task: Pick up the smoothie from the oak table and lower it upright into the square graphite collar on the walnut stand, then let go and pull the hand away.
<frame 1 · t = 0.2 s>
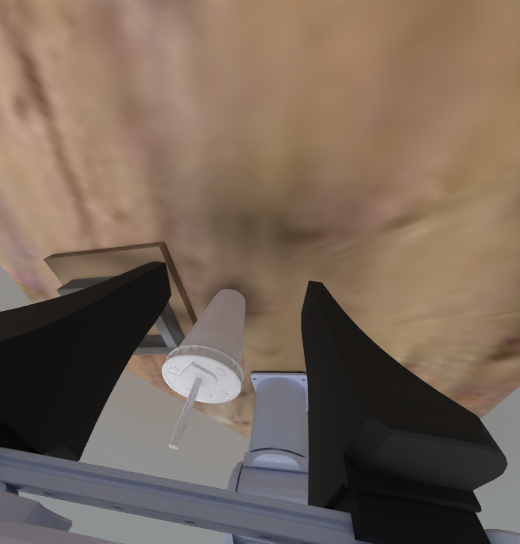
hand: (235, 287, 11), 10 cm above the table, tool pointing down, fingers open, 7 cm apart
smoothie: (230, 300, 25), on the table
bottle stand: (138, 306, 27), on the table
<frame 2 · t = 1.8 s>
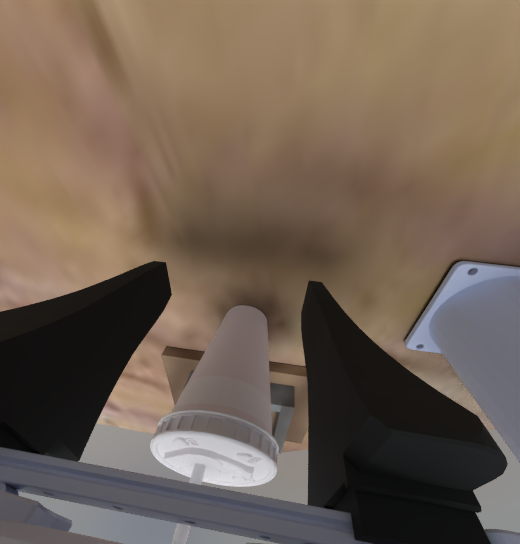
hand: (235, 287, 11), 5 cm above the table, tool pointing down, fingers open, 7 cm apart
smoothie: (246, 319, 19), on the table
bottle stand: (242, 396, 25), on the table
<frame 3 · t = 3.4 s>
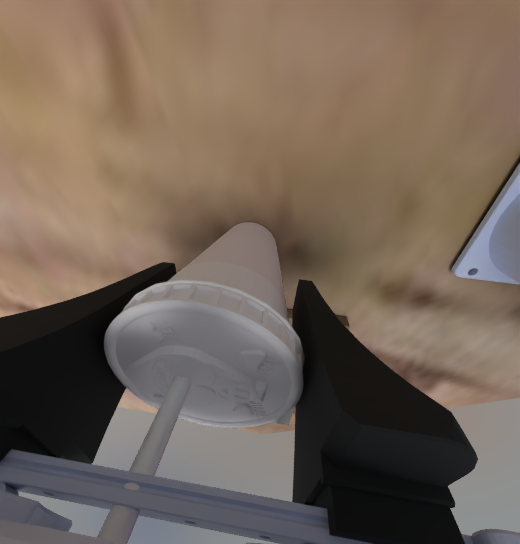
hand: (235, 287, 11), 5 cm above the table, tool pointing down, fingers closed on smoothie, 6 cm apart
smoothie: (250, 246, 15), on the table, touching gripper
bottle stand: (244, 357, 21), on the table
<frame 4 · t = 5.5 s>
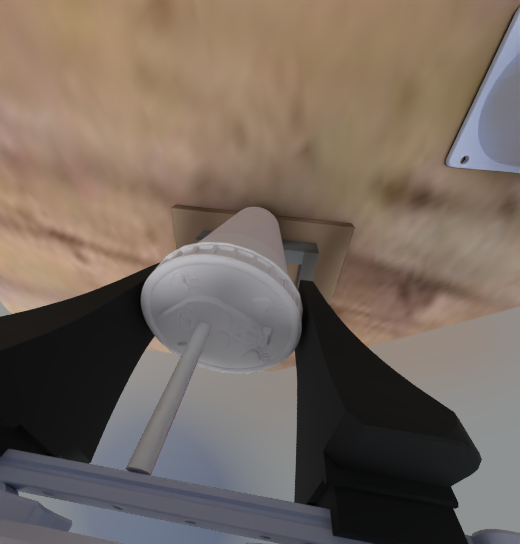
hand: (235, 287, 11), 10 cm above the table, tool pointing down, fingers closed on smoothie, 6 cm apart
smoothie: (255, 229, 16), point 4 cm above the table, touching gripper
bottle stand: (256, 278, 23), on the table
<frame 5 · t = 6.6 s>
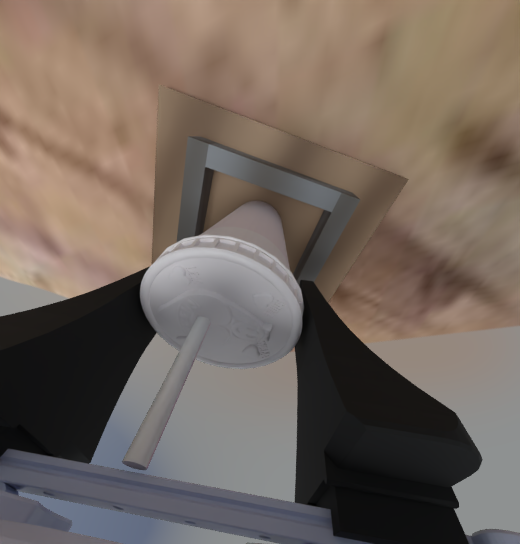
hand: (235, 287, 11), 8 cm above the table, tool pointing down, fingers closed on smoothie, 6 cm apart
smoothie: (257, 224, 16), point 1 cm above the table, touching bottle stand, gripper
bottle stand: (256, 231, 18), on the table
when the fingers open (7 cm above the table, at t = 7.5 s): smoothie stays where it is, resting on bottle stand.
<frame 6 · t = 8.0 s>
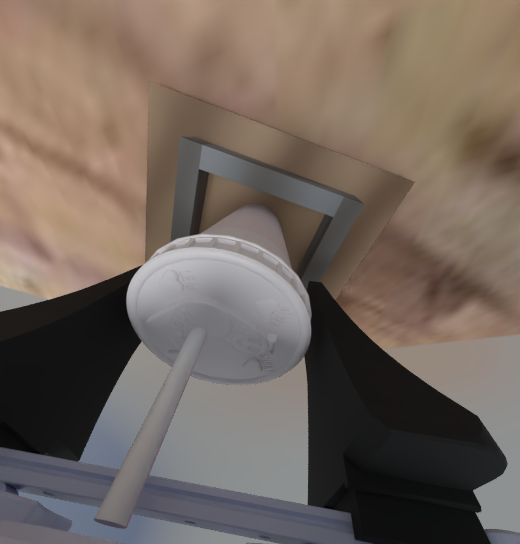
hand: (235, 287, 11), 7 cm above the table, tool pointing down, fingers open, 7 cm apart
smoothie: (255, 229, 16), point 1 cm above the table, touching bottle stand
bottle stand: (254, 235, 17), on the table
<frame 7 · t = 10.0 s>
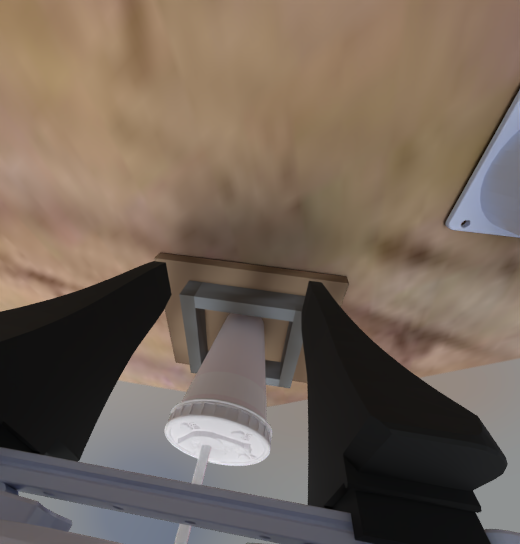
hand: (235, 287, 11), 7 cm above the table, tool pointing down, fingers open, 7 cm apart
smoothie: (245, 322, 21), point 1 cm above the table, touching bottle stand
bottle stand: (247, 323, 22), on the table
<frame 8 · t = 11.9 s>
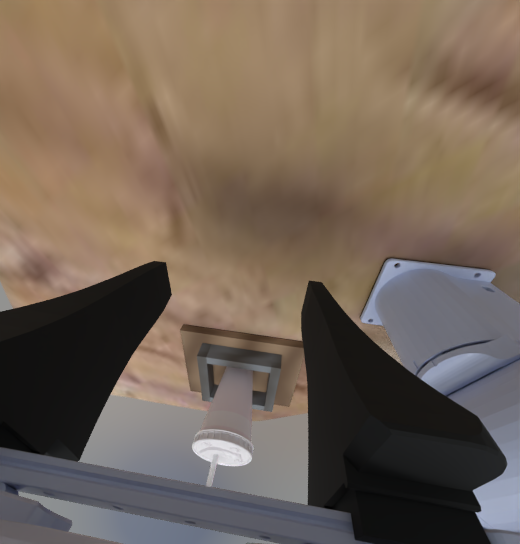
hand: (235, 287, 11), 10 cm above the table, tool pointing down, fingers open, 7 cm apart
smoothie: (240, 367, 30), point 1 cm above the table, touching bottle stand
bottle stand: (241, 366, 31), on the table
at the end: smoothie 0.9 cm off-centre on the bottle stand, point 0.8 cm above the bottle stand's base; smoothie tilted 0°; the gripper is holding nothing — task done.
